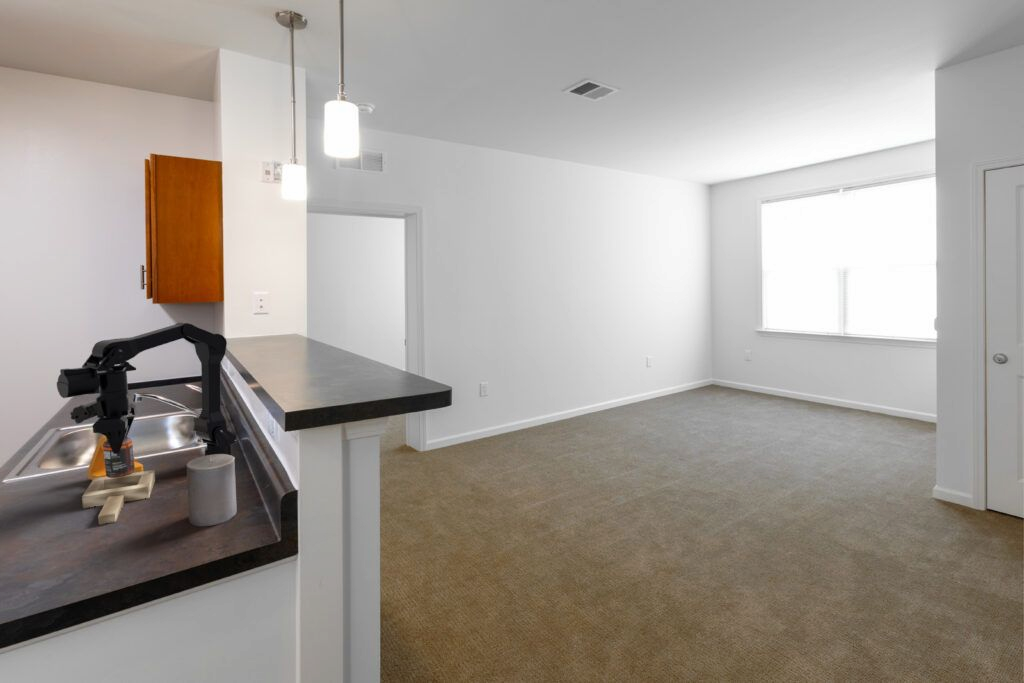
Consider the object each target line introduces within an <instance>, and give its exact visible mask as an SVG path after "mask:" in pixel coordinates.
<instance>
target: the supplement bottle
mask: <svg viewBox="0 0 1024 683" xmlns="http://www.w3.org/2000/svg"><path fill="white" fill-rule="evenodd" d="M103 451H104V461H105V470H106V476H107V477H109V478H118V477H123V476H127V475H129V474H132V473H133V472H134V471H135V466H134V458H135V457H134V446H133V440H132V438H130V437H128V435H127V433H126V436H125V438H124V441H123V444H122V447H121V450H120V452H119V453H118V454H114V453H113V451H112V449H111V447H110V444H109V442H108V440H107V441H105V442H104V444H103Z"/></svg>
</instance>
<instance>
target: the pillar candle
mask: <svg viewBox="0 0 1024 683" xmlns="http://www.w3.org/2000/svg"><path fill="white" fill-rule="evenodd" d="M235 460H236V457H235V456H233V455H232V454H231V455H227V454H214V455H207V456H205V455H203V456H199V457H196V458H193V459H191V460H189V461H188V462H187V463H186V482H187V501H188V503H187V505H188V506H187V507H188V521H189V524H190V525H192V526H195V527H211V526H215V525H220V524H222V523H226V522H228V521H230V520H231V519H232V518H233V517H234V516H236V515H237V509H238V508H237V488H236V486H237V485H236V469H235V467H236V465H235V464H236V463H235Z"/></svg>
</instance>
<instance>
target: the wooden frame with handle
mask: <svg viewBox="0 0 1024 683" xmlns="http://www.w3.org/2000/svg"><path fill="white" fill-rule="evenodd" d="M155 482H156V475H155V469H151V470H145V471H144V470H143V472H136V473H132V474H129V475H127V476H123V477H118V478H109V477H100V478H94V479H93V481H92V480H91V482H90V484H89V486H87V488H86V489H85V492H84V493H83V494H82V496H81V497H82V498H81V500H82V509H89V507H90V508H95V507H94V506H96V507H101V506H102V509H101V510H100V512H99V514H98V516H97V517H98V521H97V522H98V525H99V526H100V525H106V523H107V524H113V523H116V522H117V520H118V517H119V515H120V513H121V510H122V509H123V507H124V504H125V503H126V501H127V502H132V501H139V500H145V498H146V499H150V496H151V494H152V491H153V488H154V484H155ZM121 508H122V509H121Z"/></svg>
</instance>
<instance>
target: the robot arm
mask: <svg viewBox="0 0 1024 683" xmlns="http://www.w3.org/2000/svg"><path fill="white" fill-rule="evenodd" d="M181 339H184V341H185V342H188V343H189V344H193V345H194V348H195V354H196V356H197V358H198V360H199V362H200V364H201V368H200V370H201V412H200V414H199V416H198V417H197V416H196V417H193V425H194V427H193V430H192V431H194V432H195V434H196V436H197V437H198V438H200V439H201V441H202V443H203V444H205V443H206V447H205V448H204V456H207V455H214V454H227V455H231V456H232V445H233V444H235V443H236V440H237V435H235V434H234V433H232V432H231V431H230V430H228V425H227V419H226V417H225V416H224V414H223V412H222V409H221V408H222V406H221V404H222V402H221V400H222V398H221V397H222V393H221V389H222V388H221V363H222V362H223V359H224V357H225V356H226V351H227V345H228V343H227V338H226V337H225V336H224V335H223V334H220V333H215V332H214V333H213V332H210V331H208V330H205V329H203V328H200V327H198V326H196V325H194V324H192V323H190V322H184V321H183V322H181V321H180V322H176V323H174V324H173V325H169V326H166V327H161V328H159V329H158V328H157V329H156V330H152V331H149V332H145V333H141V334H137V335H135V336H132V337H131V336H130V337H122V338H112V339H105V340H103V339H102V340H100V341H98V342H96V343H94V345H93V347H92V348H91V353H90V355H89V356H88V358H87V359H86V360H85V361H84V363H83V364H82V366H81V367H75V368H61V369H60V370H59V371H60V374H59V375H58V378H57V381H56V388H57V392H58V394H59V396H60V397H61V398H63V399H67V398H73V397H80V396H86V395H92V394H95V392H96V391H98V392H99V393H98V394H99V395H98V397H96V399H95V401H93V402H90V403H87V404H80V405H79V406H74V408H72V410H71V411H70V412H69V414H70V415H71V416H70V419H71V420H74V421H75V424H77V425H78V424H81V423H83V422H84V421H87V420H89V419H91V418H94V417H96V416H97V420H96V421H95V422H94V423H93V424H92V434H101V435H102V436H104V435H105V436H106V438H107V440H108V442H109V444H110V447H111V449H112V451H113V453H114V454H118V453H119V452H120V450H121V447H122V444H123V441H124V438H125V436H126V433H127V436H128V435H129V433H130V430H131V428H132V425H133V422H134V419H135V418H136V417H135V415H136V414H137V405H135V404H134V403H132V402H130V398H129V396H130V395H131V391H129V386H128V372H131V371H136V370H137V367H135V366H133V365H132V364H131V363H130V362H129V361H130V360H132V359H133V358H135V357H136V356H137V355H139V354H140V353H142V352H144V351H147V350H151V349H154V348H156V347H157V348H158V347H159V346H163V345H167V344H169V343H173V342H176V341H178V340H181ZM129 414H132V416H131V415H130V416H129Z"/></svg>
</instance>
